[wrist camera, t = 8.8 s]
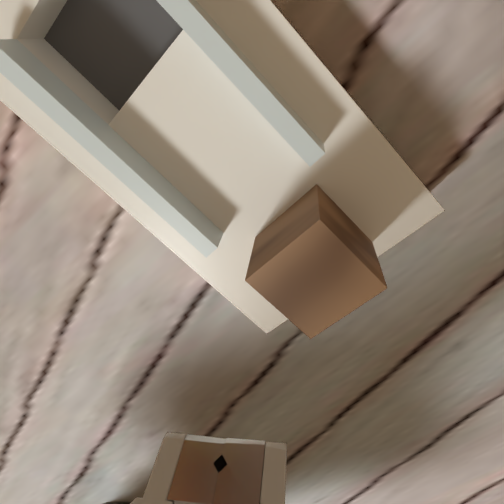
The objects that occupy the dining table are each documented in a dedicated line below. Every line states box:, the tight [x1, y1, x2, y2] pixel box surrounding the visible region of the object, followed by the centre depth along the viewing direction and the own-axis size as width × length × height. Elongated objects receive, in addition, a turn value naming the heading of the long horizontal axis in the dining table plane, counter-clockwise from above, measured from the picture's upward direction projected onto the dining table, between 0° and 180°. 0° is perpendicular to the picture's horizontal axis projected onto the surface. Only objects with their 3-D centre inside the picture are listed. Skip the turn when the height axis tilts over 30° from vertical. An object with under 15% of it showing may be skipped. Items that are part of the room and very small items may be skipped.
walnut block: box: [245, 184, 387, 339], centre depth 22 cm, size 5×5×5 cm
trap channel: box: [0, 0, 445, 334], centre depth 23 cm, size 25×14×5 cm, turn 45°
